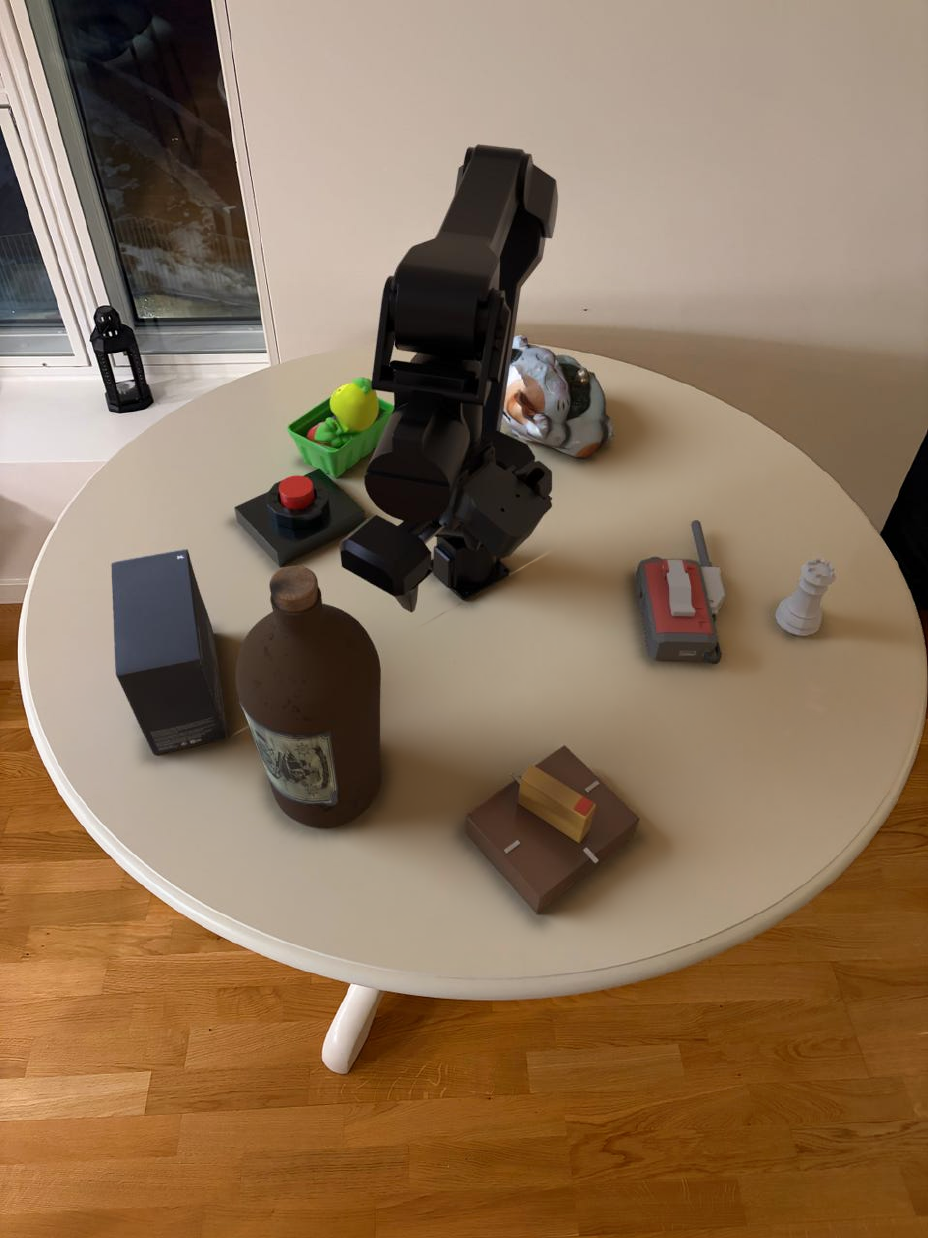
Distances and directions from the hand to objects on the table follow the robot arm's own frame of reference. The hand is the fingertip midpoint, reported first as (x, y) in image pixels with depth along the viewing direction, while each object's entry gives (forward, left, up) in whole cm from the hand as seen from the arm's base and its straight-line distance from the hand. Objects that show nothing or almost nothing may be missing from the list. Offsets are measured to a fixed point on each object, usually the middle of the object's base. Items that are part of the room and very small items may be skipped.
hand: (441, 577), depth 78 cm
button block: (0, -25, -12) cm, 28 cm away
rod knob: (+4, +20, -9) cm, 22 cm away
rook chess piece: (-32, +18, -12) cm, 39 cm away
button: (0, -25, -8) cm, 26 cm away
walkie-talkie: (-25, +8, -12) cm, 29 cm away
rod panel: (+4, +20, -12) cm, 24 cm away
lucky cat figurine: (-33, -20, -12) cm, 41 cm away
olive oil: (+16, +4, -12) cm, 20 cm away
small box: (+21, -12, -12) cm, 27 cm away
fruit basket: (-11, -32, -12) cm, 36 cm away
